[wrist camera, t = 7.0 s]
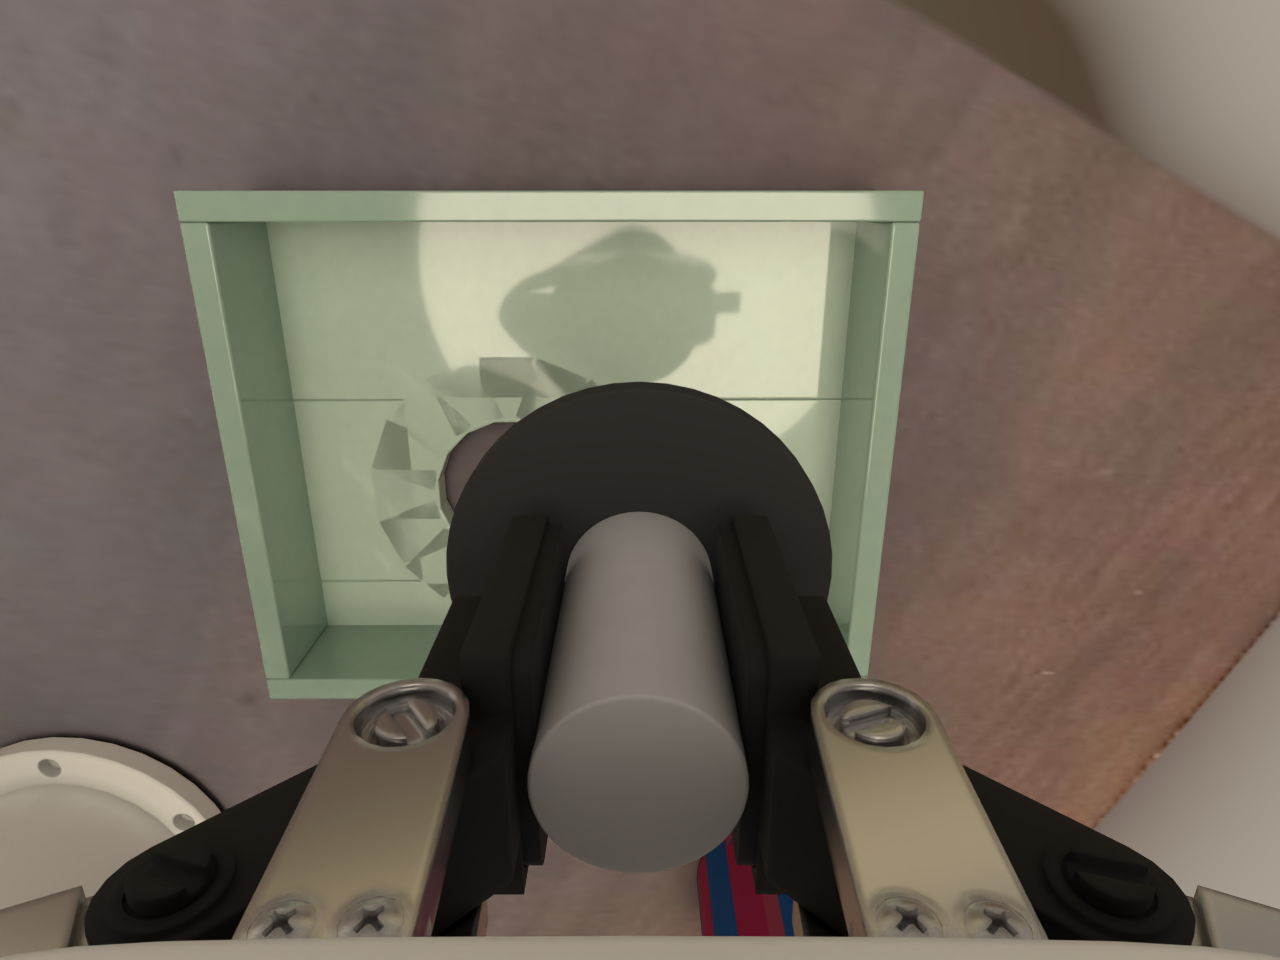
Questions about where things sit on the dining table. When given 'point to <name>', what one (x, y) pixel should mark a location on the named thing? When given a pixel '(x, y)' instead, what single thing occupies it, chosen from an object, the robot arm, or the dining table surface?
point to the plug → (638, 606)
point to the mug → (738, 899)
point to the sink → (242, 265)
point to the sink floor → (529, 359)
